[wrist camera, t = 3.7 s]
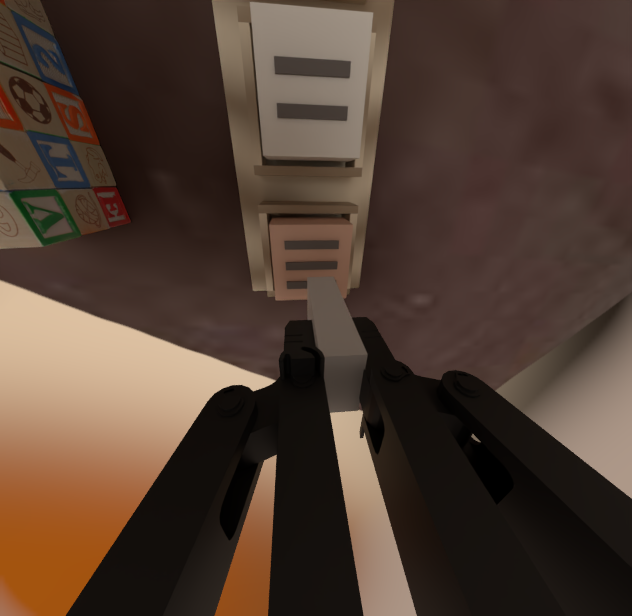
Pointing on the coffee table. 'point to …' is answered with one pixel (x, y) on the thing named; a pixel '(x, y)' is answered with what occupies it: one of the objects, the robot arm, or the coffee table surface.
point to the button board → (292, 175)
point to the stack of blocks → (47, 141)
